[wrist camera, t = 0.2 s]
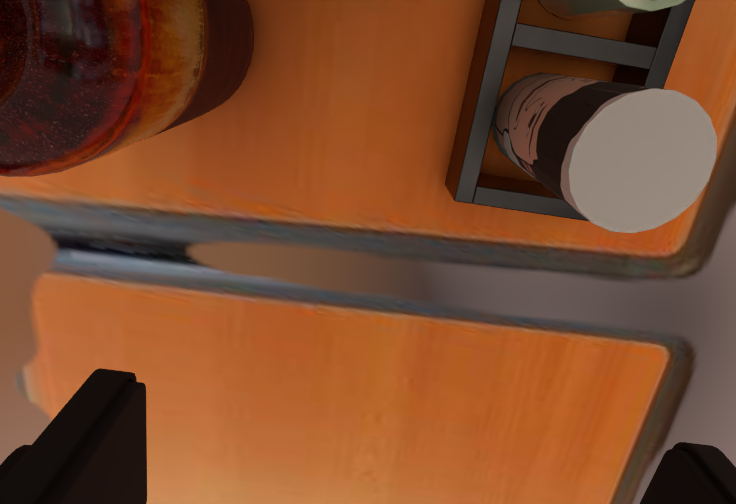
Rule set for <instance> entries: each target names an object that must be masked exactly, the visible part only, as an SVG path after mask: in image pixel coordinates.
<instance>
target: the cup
mask: <svg viewBox="0 0 736 504" xmlns="http://www.w3.org/2000/svg"><path fill="white" fill-rule="evenodd" d="M492 127H493V134H494V139H495V141H496V143H497V145H498V147H499V149H500V151H501V152H502V153H503V154H504V155H506V156H507V157H508V158H509V159H510V160H511V161H512V162H514V163H515V164H516V165H518V166H519V167H520V168H521V169H523V170H524V171H525V172H527V173H528V174H529V175H531V176H532V177H533V178H535V179H536V180H537V181H538V182H540V183H541V184H542V185H544V186H545V187H546V188H548V189H549V190H550V191H551V192H553V193H554V194H555V195H557V196H558V197H559V198H561V199H562V200H563V201H564V202H566V203H567V204H568V205H570V206H571V207H572V208H574V209H575V210H576V211H577V212H579V213H580V214H581V215H583V216H584V217H585V218H587V219H588V220H589V221H590V222H592V223H593V224H595V225H598V226H600V227H602V228H605V229H607V230H609V231H612V232H625V233H636V232H640V231H645V230H650V229H654V228H657V227H659V226H661V225H663V224H664V223H666V222H668V221H670V220H672V219H674V218H676V217H677V216H678V215H680V214H681V213H682V212H683V211H684V210H685V209H686V208H688V207H689V206H690V205H691V204H692V203H693V202H694V201H695V200H696V198H697V197H698V196H699V194H700V193H701V191H702V190H703V188H704V187H705V185H706V184H707V182H708V181H709V178H710V175H711V172H712V169H713V166H714V163H715V160H716V138H717V137H716V134H715V131H714V128H713V125H712V122H711V119H710V116H709V115H708V114H707V113H706V112H705V110H704V109H703V108H702V107H701V106H700V105H699V104H698V102H697V101H696V100H694V99H692V98H690V97H688V96H686V95H684V94H682V93H680V92H678V91H675V90H668V89H660V88H653V87H646V86H638V85H631V84H624V83H616V82H609V81H602V80H594V79H587V78H580V77H572V76H565V75H558V74H548V73H537V74H533V75H529V76H525V77H524V78H522V79H520V80H519V81H517V82H515V83H514V84H512V85H511V86H510V87H509V88H508V90H507V91H506V92H505V93H504V94H503V95H502V96H501V98H500V100H499V102H498V104H497V106H496V108H495V112H494V117H493V123H492Z"/></svg>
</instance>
